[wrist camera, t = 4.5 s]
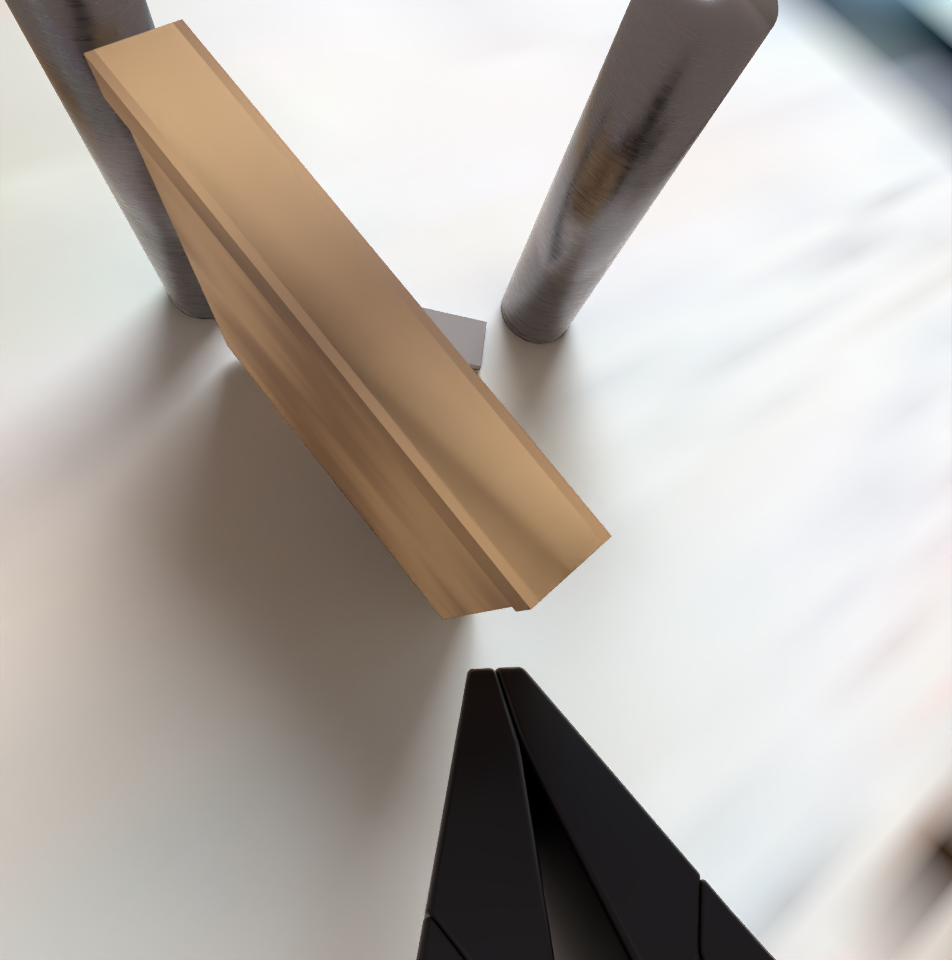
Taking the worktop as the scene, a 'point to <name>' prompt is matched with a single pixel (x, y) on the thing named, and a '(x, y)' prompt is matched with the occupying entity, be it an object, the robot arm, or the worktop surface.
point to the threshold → (462, 334)
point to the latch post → (629, 147)
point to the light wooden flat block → (345, 342)
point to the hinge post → (109, 123)
